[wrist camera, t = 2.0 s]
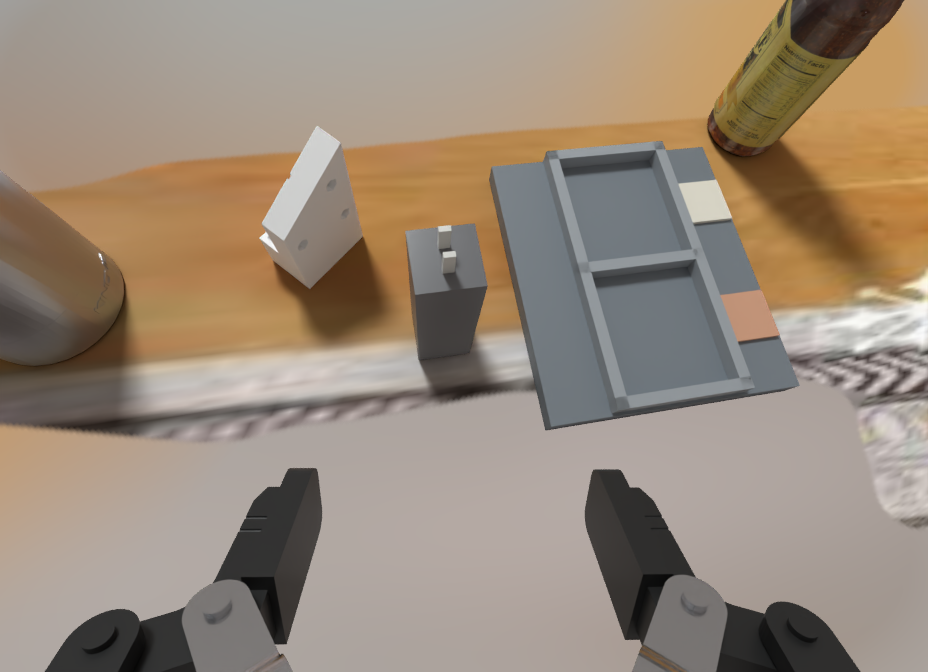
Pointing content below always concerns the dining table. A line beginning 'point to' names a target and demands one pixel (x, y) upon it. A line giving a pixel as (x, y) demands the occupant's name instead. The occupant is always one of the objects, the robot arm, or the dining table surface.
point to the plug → (445, 288)
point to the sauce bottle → (793, 68)
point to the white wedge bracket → (313, 213)
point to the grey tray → (633, 284)
